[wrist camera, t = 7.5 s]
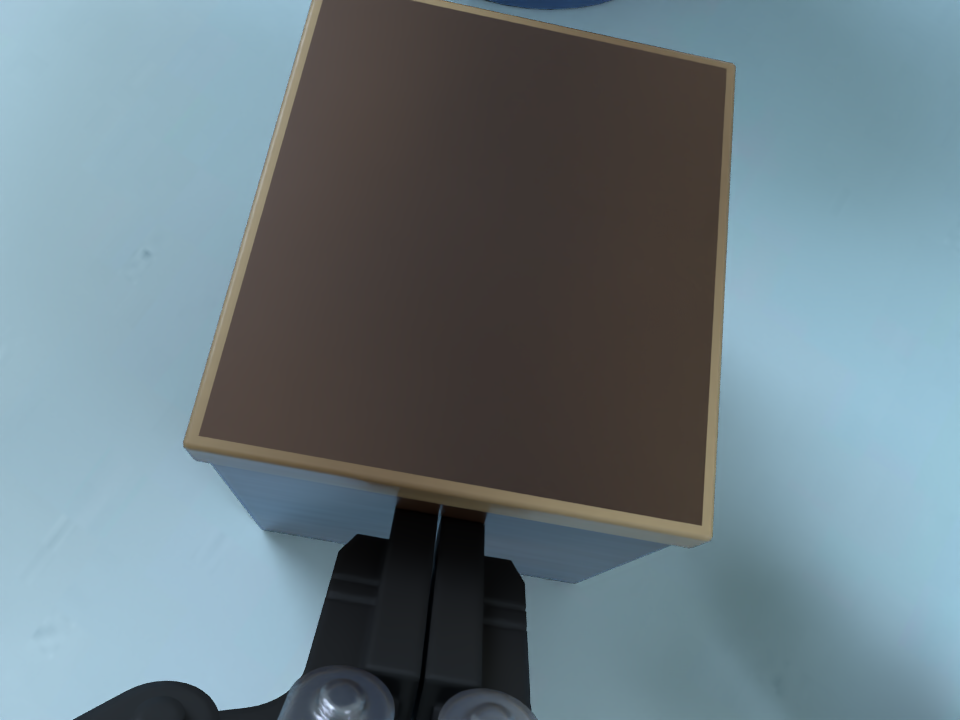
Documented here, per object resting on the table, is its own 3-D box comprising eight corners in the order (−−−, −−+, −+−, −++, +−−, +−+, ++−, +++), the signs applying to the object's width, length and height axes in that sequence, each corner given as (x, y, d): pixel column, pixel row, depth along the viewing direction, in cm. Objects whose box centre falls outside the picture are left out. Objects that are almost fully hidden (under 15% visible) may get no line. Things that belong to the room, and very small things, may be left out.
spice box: (253, 533, 18) (179, 447, 11) (335, 205, 21) (318, -30, 14) (581, 590, 18) (714, 542, 11) (615, 261, 21) (737, 61, 14)
